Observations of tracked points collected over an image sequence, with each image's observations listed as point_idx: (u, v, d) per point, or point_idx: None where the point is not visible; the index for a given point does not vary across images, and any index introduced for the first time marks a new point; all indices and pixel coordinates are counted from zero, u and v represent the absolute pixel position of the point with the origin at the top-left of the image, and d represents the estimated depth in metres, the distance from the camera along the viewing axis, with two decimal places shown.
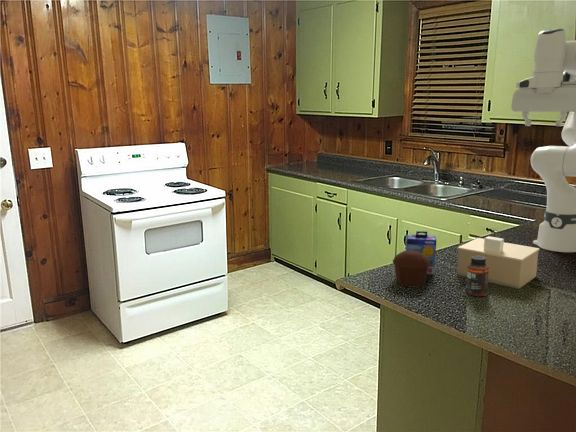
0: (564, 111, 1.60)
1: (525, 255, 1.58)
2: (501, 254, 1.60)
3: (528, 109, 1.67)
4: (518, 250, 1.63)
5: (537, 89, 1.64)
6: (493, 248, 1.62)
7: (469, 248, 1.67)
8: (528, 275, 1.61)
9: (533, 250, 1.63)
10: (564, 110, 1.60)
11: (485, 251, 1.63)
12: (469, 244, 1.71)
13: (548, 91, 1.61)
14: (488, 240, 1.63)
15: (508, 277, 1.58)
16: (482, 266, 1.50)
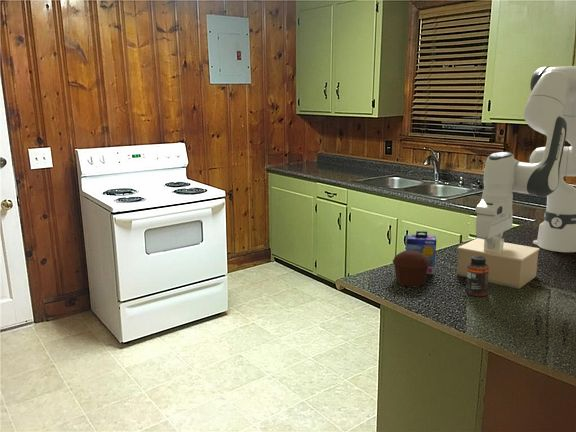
0: (507, 229, 1.66)
1: (525, 255, 1.58)
2: (501, 254, 1.60)
3: (494, 234, 1.58)
4: (518, 250, 1.63)
5: (501, 213, 1.58)
6: (493, 248, 1.62)
7: (469, 248, 1.67)
8: (528, 275, 1.61)
9: (533, 250, 1.63)
10: None
11: (485, 251, 1.63)
12: (469, 244, 1.71)
13: (506, 214, 1.60)
14: None
15: (508, 277, 1.58)
16: (482, 266, 1.50)
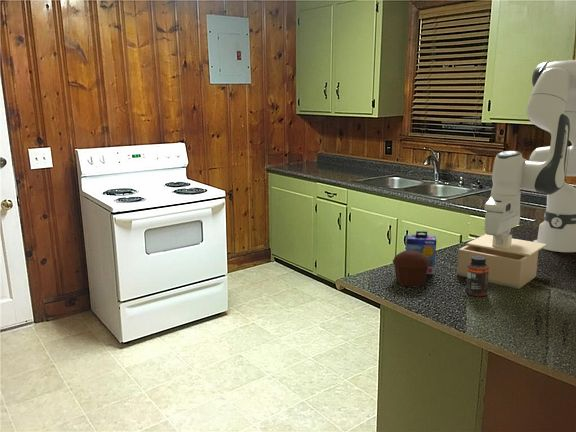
0: (514, 226, 1.71)
1: (533, 250, 1.63)
2: (509, 249, 1.65)
3: (502, 231, 1.63)
4: (526, 246, 1.68)
5: (509, 210, 1.63)
6: None
7: (478, 244, 1.71)
8: (528, 275, 1.61)
9: (540, 246, 1.68)
10: (515, 225, 1.71)
11: (493, 246, 1.68)
12: (478, 240, 1.76)
13: (514, 211, 1.65)
14: None
15: (508, 277, 1.58)
16: (482, 266, 1.49)
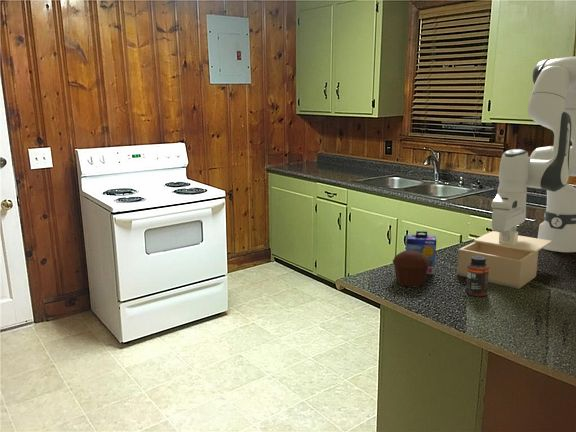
0: (520, 223, 1.75)
1: (539, 247, 1.67)
2: (516, 246, 1.68)
3: (509, 227, 1.67)
4: (531, 242, 1.72)
5: (516, 207, 1.67)
6: None
7: (485, 240, 1.75)
8: (528, 275, 1.61)
9: (546, 242, 1.72)
10: (521, 222, 1.74)
11: (500, 243, 1.72)
12: (485, 237, 1.80)
13: None
14: None
15: (508, 277, 1.58)
16: (482, 266, 1.50)
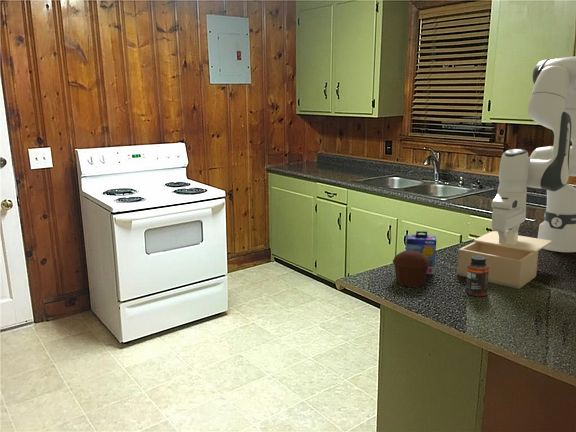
0: (520, 223, 1.75)
1: (539, 247, 1.67)
2: (516, 246, 1.68)
3: (509, 227, 1.67)
4: (531, 242, 1.72)
5: (516, 207, 1.67)
6: (508, 240, 1.71)
7: (485, 240, 1.75)
8: (528, 275, 1.61)
9: (546, 242, 1.72)
10: (521, 222, 1.74)
11: (500, 243, 1.72)
12: (484, 237, 1.80)
13: None
14: None
15: (508, 277, 1.58)
16: (482, 266, 1.50)
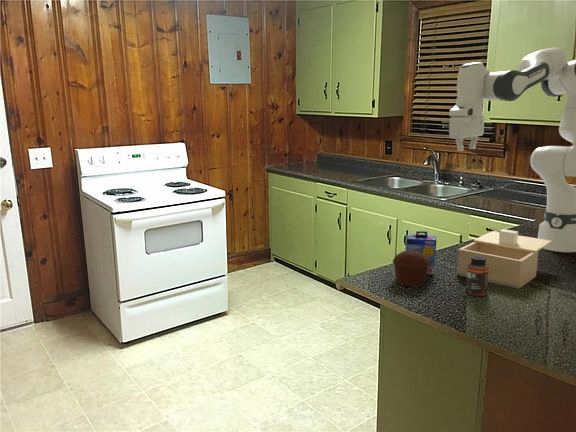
0: (478, 135, 1.85)
1: (539, 247, 1.67)
2: (516, 246, 1.68)
3: (466, 135, 1.77)
4: (531, 242, 1.72)
5: (472, 117, 1.77)
6: (508, 240, 1.71)
7: (485, 240, 1.75)
8: (528, 275, 1.61)
9: (546, 242, 1.72)
10: (479, 135, 1.85)
11: (500, 243, 1.72)
12: (484, 237, 1.80)
13: (477, 118, 1.79)
14: (503, 233, 1.71)
15: (508, 277, 1.58)
16: (482, 266, 1.50)
